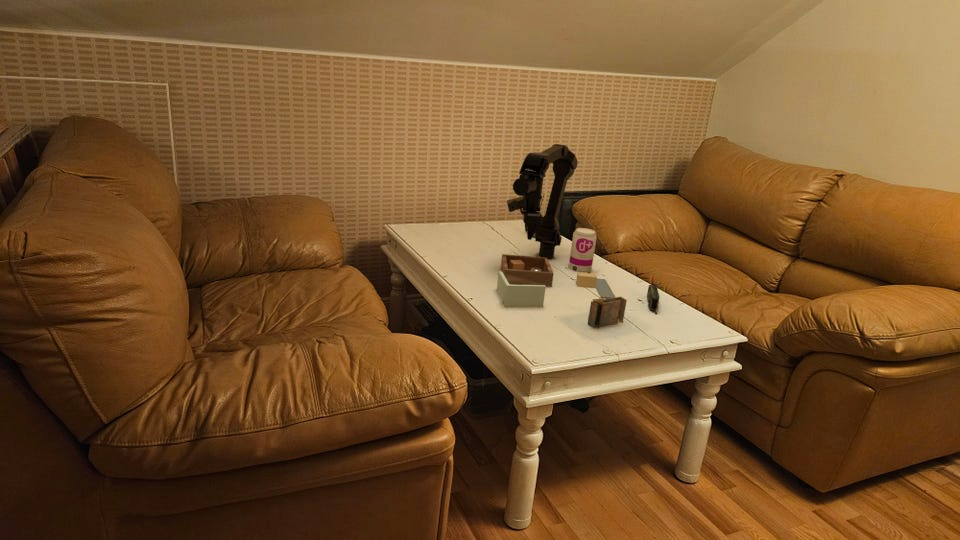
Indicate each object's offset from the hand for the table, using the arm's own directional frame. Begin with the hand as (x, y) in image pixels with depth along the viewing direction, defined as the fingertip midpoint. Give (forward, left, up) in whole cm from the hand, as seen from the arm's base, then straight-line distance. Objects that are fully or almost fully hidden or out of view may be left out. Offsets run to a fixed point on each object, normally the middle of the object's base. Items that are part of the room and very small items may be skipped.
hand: (527, 235), depth 208 cm
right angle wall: (+27, -4, -14) cm, 30 cm away
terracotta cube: (+5, -3, -12) cm, 14 cm away
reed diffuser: (-44, +7, -13) cm, 46 cm away
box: (+8, 0, -13) cm, 15 cm away
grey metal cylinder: (+11, +3, -12) cm, 17 cm away
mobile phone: (+23, +39, -13) cm, 48 cm away
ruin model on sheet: (+40, +21, -14) cm, 47 cm away
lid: (+12, +20, -14) cm, 27 cm away
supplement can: (-5, +21, -13) cm, 25 cm away
